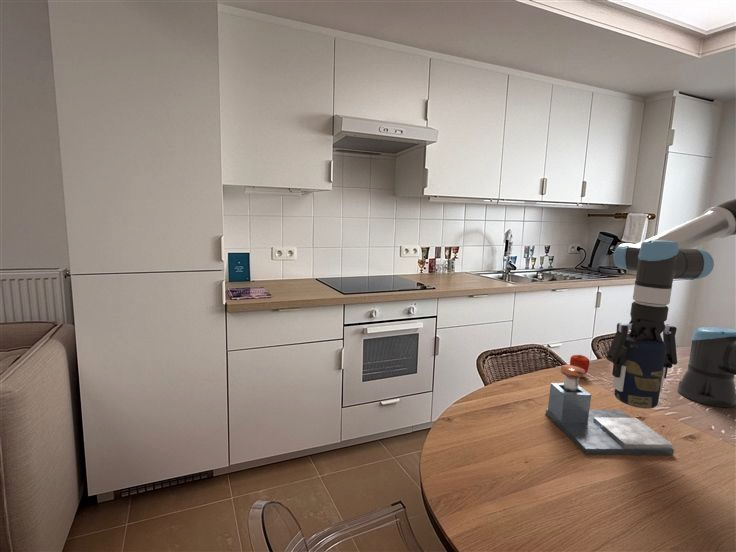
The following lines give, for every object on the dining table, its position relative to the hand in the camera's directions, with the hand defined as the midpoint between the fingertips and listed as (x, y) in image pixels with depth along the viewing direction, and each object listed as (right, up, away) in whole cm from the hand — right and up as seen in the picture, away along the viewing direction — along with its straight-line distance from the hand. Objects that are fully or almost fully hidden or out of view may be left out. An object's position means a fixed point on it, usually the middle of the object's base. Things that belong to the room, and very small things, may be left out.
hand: (637, 389), depth 104 cm
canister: (0, -4, +1) cm, 4 cm away
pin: (-13, -5, +9) cm, 17 cm away
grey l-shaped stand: (-6, -13, +5) cm, 15 cm away
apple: (+7, -7, +44) cm, 45 cm away
